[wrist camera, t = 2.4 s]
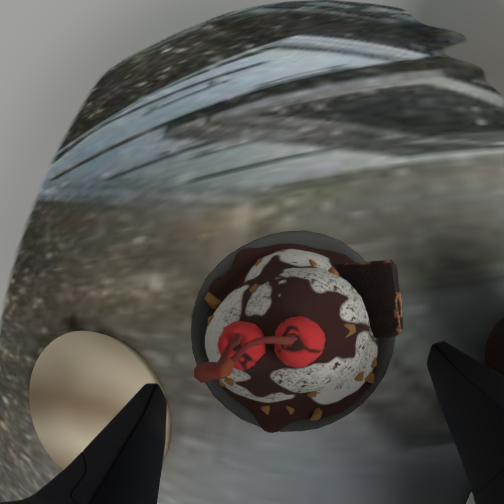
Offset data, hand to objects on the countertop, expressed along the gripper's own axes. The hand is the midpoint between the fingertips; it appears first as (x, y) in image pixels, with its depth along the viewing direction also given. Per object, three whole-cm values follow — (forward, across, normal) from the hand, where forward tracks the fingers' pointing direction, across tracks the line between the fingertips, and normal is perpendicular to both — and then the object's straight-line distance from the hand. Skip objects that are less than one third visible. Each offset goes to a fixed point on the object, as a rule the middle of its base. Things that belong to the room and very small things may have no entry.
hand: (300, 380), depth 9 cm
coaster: (+5, +14, +9) cm, 17 cm away
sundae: (+8, 0, +6) cm, 10 cm away
